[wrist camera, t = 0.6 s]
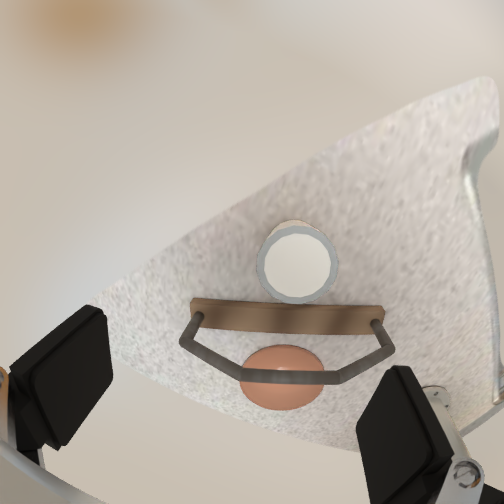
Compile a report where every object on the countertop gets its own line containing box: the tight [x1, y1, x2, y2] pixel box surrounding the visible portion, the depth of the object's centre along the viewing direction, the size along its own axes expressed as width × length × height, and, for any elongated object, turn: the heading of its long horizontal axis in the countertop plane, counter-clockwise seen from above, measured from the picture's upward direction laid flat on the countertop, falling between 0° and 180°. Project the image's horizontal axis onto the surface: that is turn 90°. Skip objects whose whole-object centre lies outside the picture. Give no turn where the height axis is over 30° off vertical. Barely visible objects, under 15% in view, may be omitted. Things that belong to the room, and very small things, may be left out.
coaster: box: [240, 345, 324, 410], centre depth 34 cm, size 11×11×1 cm
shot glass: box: [256, 220, 339, 304], centre depth 27 cm, size 7×7×7 cm
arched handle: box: [179, 298, 395, 385], centre depth 27 cm, size 22×3×12 cm, turn 89°
